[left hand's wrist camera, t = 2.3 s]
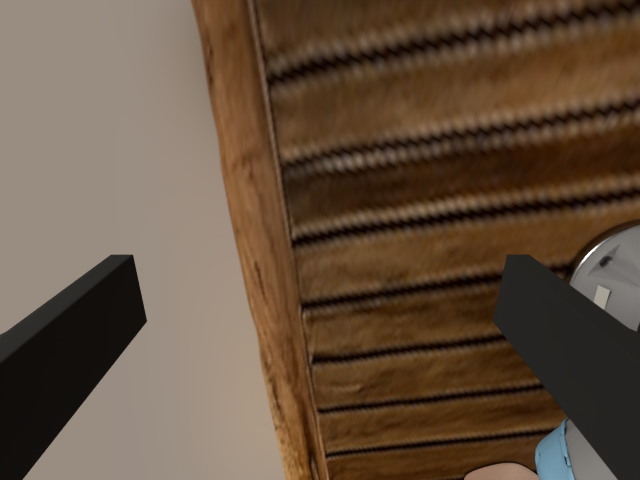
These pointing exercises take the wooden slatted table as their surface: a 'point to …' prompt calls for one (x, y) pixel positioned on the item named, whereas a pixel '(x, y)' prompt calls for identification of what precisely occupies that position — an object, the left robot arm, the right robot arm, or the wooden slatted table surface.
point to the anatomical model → (502, 473)
